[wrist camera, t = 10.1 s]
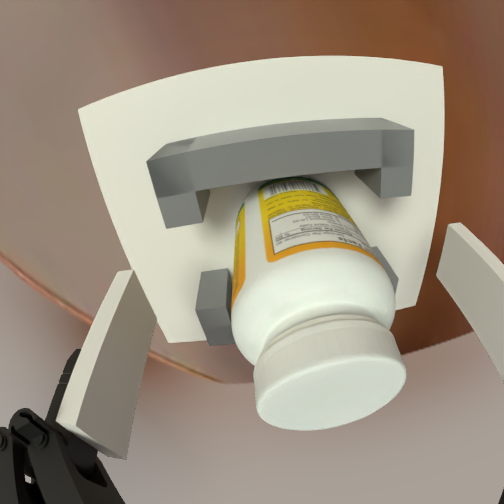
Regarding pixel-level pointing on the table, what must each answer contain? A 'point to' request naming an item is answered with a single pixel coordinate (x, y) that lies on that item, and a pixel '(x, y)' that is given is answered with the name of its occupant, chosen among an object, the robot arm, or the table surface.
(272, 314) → the supplement bottle
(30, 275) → the table surface
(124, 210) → the socket
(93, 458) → the robot arm
